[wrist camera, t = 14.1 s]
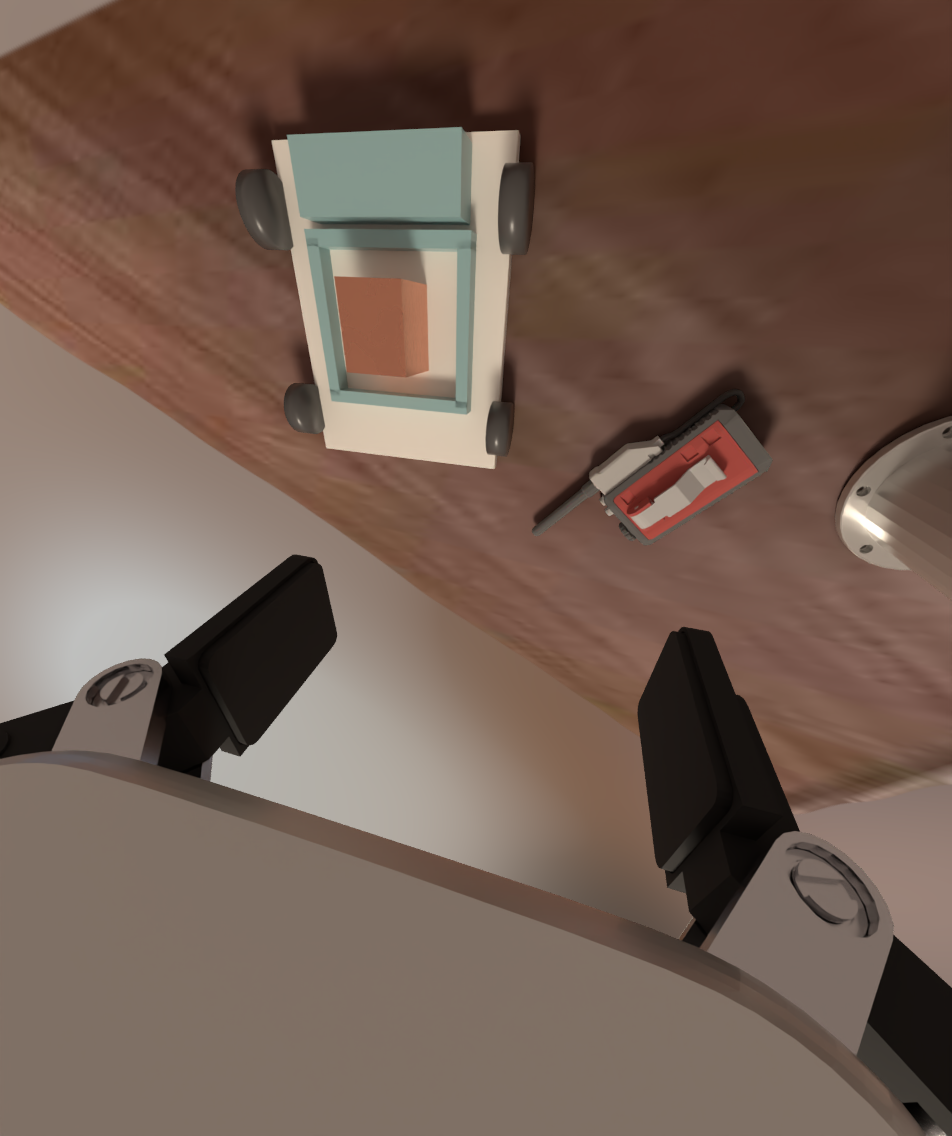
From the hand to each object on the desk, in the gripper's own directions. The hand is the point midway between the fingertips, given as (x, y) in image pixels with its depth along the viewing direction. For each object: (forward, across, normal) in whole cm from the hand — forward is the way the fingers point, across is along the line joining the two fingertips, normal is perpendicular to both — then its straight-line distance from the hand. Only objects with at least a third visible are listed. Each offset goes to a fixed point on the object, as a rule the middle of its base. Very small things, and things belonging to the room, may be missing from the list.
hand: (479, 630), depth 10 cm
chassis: (+28, +14, -6) cm, 32 cm away
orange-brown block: (+27, +14, -6) cm, 31 cm away
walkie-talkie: (+29, -8, +6) cm, 31 cm away
